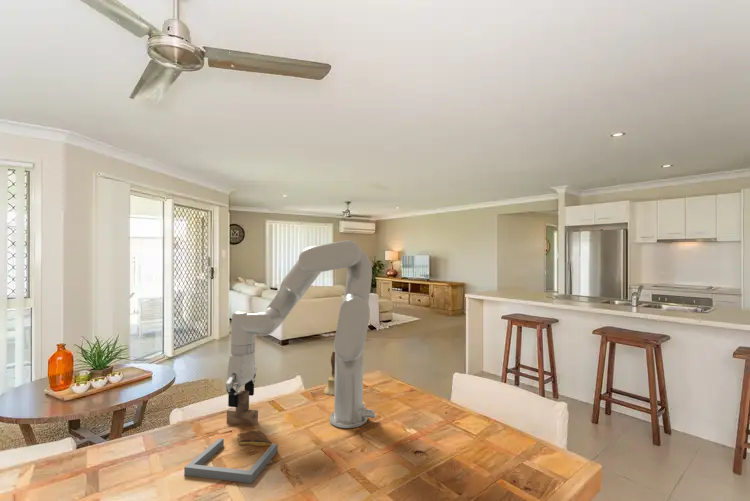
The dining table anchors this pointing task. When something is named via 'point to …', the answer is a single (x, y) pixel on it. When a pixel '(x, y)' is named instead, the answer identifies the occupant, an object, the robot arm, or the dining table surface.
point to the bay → (237, 475)
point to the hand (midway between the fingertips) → (241, 400)
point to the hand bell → (331, 378)
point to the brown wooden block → (242, 411)
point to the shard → (254, 438)
